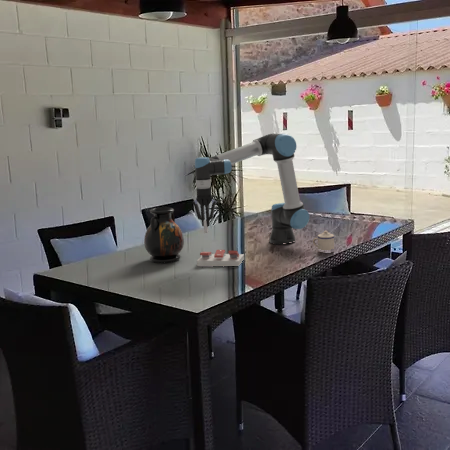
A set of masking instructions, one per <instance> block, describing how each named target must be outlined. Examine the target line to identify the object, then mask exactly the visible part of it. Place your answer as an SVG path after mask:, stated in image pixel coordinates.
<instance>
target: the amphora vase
mask: <svg viewBox="0 0 450 450" xmlns="http://www.w3.org/2000/svg"><path fill="white" fill-rule="evenodd" d="M174 211H175V209H174V208H172V207H166V206H165V207H156V208H151V209H150V210H149V212H150V214H152V215H153V216H152V217H151V219H150V225H149V226H148V227H147V229H146V231H145V235H144V238H143V239H144V240H143V244H144V248H145V251H146V252H147V253H148V254H149V255H150V257H149V260H150V261H151V262H153V263H154V262H155V264H171V263H175V262H177V261H180V259H181V254H179V253H181V252H182V250H183V248H184V245H185V238H184V233H183V231H182V229H181V227H180V226H179V225H178V224H177V223H176V219H175V215H174Z"/></svg>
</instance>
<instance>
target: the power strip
mask: <svg viewBox="0 0 450 450" xmlns="http://www.w3.org/2000/svg"><path fill="white" fill-rule="evenodd" d="M214 255H215V253H211V255H209V258H206V257H202V255H200V257H199V258H197V260H196V264H197V265H196V266H197V267H213V266H223V267H224V266H239V265H240V264H241V263H243V262H244V261H245V253H243V254H242V253H239V257H237V258H230V255H229V253H225V254H224V257H223V258H214ZM243 260H244V261H243ZM242 261H243V262H242ZM241 265H242V264H241ZM241 265H240V266H241ZM240 266H239V267H240ZM223 267H222V268H223Z"/></svg>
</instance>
